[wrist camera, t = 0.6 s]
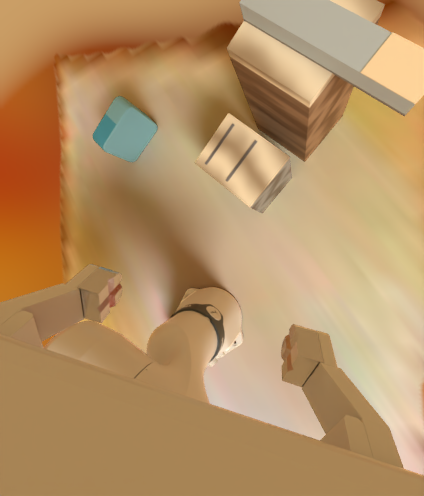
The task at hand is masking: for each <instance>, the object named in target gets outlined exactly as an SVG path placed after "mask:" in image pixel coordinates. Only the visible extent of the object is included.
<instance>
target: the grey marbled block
mask: <svg viewBox="0 0 424 496" xmlns="http://www.w3.org/2000/svg"><path fill="white" fill-rule="evenodd" d="M195 164H197V165H198V166H199V167H200V168H202V169H203V170H204V171H205V172H207V173H208V174H209V175H210V176H212V177H213V178H214V179H215V180H216V181H218V182H219V183H220V184H221V185H223V186H224V187H225V188H226V189H228V190H229V191H230V192H231V193H233V194H234V195H235V196H236V197H238V198H239V199H240V200H241V201H242V202H244V203H245V204H246V205H247V206H249V207H250V208H252V209H255V210H257V211H259V212H261V213H263V212H264V211H265V210H266V208H267V207H268V206H269V205H270V204H271V202H272V201H273V200H274V199H275V197H276V196H277V195H278V194H279V193H280V191H281V190H282V189H283V188H284V186H285V185H286V184H287V183H288V182H289V180H290V179H291V178H292V173H291V165H290V157H289V156H288V155H287V154H285V153H284V152H283V151H281V150H280V149H279V148H277V147H276V146H274V145H273V144H272V143H270V142H269V141H267V140H266V139H265V138H263V137H262V136H260V135H259V134H258V133H256V132H255V131H253V130H252V129H251V128H249V127H248V126H246V125H245V124H244V123H242V122H241V121H239V120H238V119H237V118H235V117H234V116H232V115H231V114H230V113H228V114H227V116H226V117H225V119H224V120H223V122H222V123H221V124H220V126H219V127H218V129H217V130H216V132H215V133H214V135H213V136H212V138H211V139H210V141H209V142H208V144H207V145H206V147H205V148H204V149H203V151H202V152H201V154H200V155H199V157H198V158H197V160H196V161H195Z"/></svg>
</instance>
